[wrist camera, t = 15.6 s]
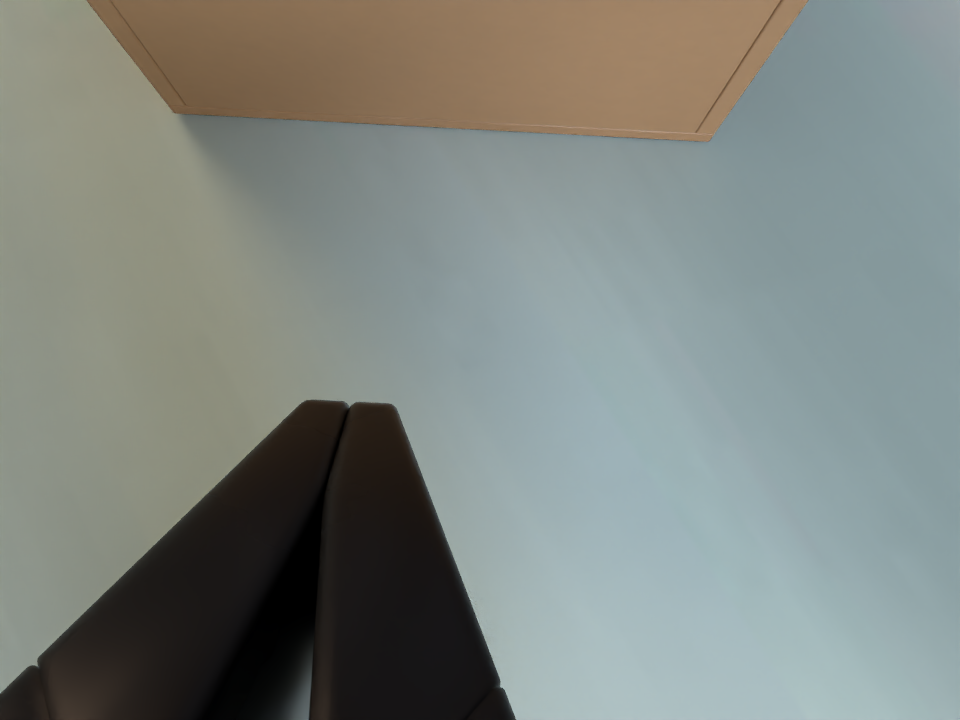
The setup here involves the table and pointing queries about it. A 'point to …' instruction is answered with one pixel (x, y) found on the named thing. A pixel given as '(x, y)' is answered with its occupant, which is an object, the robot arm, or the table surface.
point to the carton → (457, 60)
